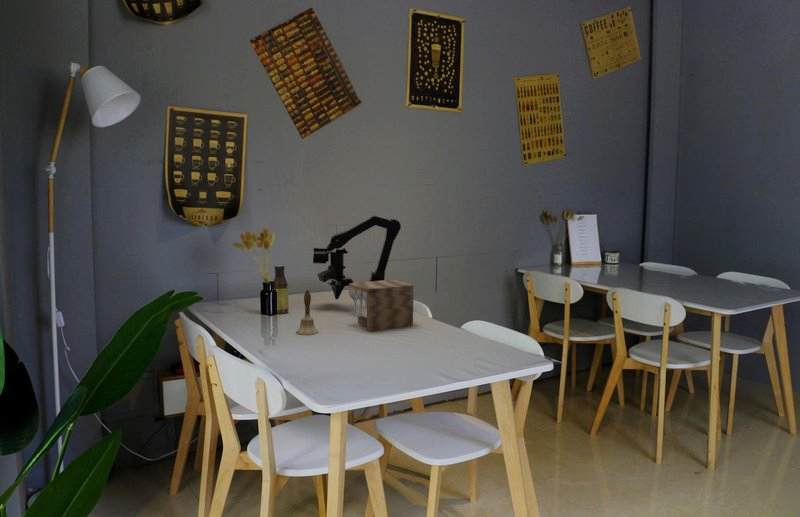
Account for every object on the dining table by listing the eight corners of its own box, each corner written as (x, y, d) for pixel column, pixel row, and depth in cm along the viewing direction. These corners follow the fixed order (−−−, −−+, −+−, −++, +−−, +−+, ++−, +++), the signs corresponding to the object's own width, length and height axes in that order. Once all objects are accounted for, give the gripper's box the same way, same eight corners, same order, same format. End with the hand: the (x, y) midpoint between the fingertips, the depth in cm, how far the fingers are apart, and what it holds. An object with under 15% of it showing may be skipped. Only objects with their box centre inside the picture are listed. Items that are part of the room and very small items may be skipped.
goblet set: (389, 326, 260) (389, 292, 258) (375, 328, 257) (376, 293, 255) (358, 312, 284) (358, 281, 282) (346, 313, 282) (346, 282, 280)
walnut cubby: (392, 318, 274) (392, 279, 272) (412, 325, 261) (413, 285, 259) (349, 323, 263) (349, 283, 261) (368, 331, 250) (369, 289, 248)
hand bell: (322, 331, 251) (322, 289, 249) (310, 336, 243) (310, 292, 241) (303, 328, 254) (303, 287, 252) (291, 333, 247) (291, 290, 244)
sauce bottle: (291, 312, 281) (291, 265, 279) (279, 314, 277) (278, 267, 274) (282, 310, 286) (281, 264, 283) (269, 312, 281) (269, 265, 278)
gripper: (310, 262, 293) (310, 297, 295) (330, 267, 277) (330, 304, 279) (333, 260, 299) (332, 294, 301) (353, 266, 283) (353, 302, 286)
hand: (336, 299), depth 292 cm, fingers closed
